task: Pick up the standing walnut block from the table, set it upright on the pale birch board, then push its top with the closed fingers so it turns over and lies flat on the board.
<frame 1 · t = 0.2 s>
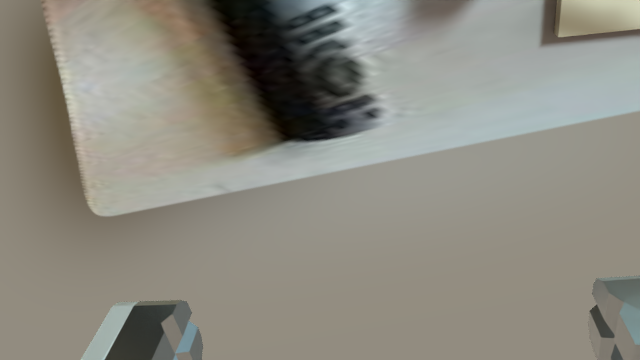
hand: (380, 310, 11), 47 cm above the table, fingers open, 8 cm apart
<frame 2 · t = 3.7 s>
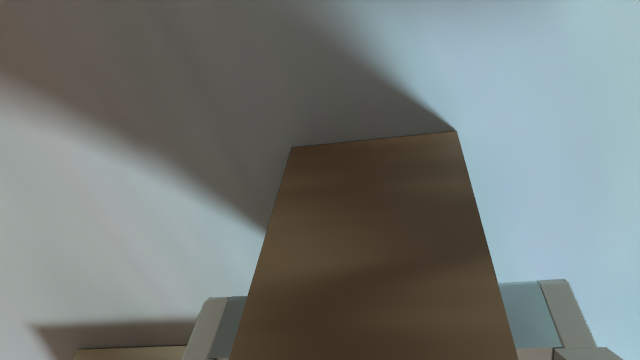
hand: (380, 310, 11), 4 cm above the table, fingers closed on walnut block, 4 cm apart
walnut block: (380, 206, 14), on the table, touching gripper
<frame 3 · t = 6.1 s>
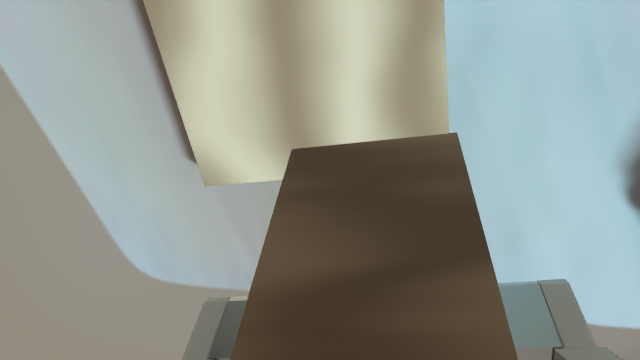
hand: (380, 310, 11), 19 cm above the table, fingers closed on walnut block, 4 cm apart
walnut block: (380, 208, 14), point 15 cm above the table, touching gripper
board: (303, 46, 27), on the table
when the fingers open (6 cm above the table, at t = 8.6 s): walnut block stays where it is, resting on board.
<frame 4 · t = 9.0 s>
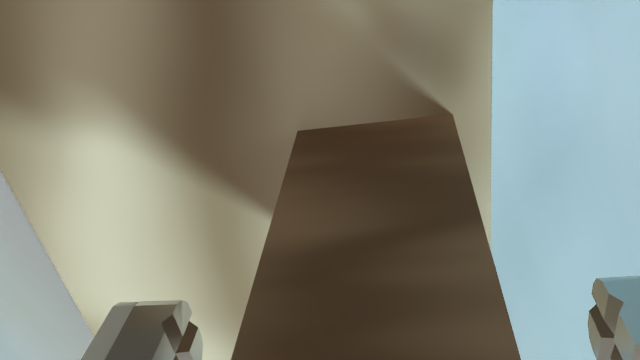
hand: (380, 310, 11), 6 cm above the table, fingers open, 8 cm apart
walnut block: (381, 187, 14), point 1 cm above the table, touching board
board: (251, 173, 16), on the table
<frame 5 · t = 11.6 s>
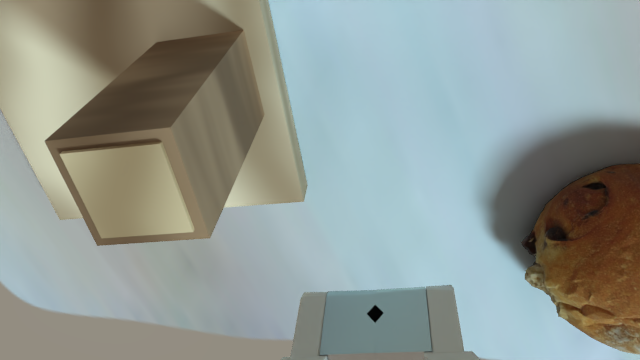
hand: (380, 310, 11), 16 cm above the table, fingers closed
bread roll: (617, 231, 28), on the table
walnut block: (212, 79, 24), point 1 cm above the table, touching board
board: (142, 77, 26), on the table
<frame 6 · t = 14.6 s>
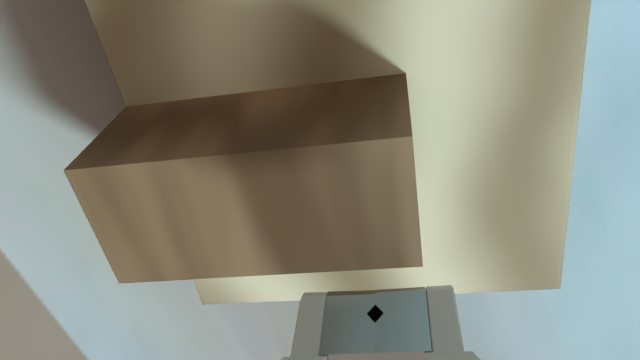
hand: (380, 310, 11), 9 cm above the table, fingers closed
walnut block: (414, 165, 15), point 3 cm above the table, tilted 90°, touching board
board: (349, 119, 18), on the table
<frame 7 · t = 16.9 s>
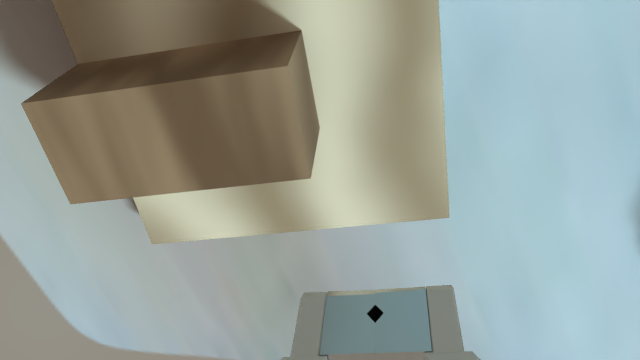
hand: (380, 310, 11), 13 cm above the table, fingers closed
walnut block: (306, 101, 18), point 3 cm above the table, tilted 90°, touching board
board: (266, 75, 22), on the table
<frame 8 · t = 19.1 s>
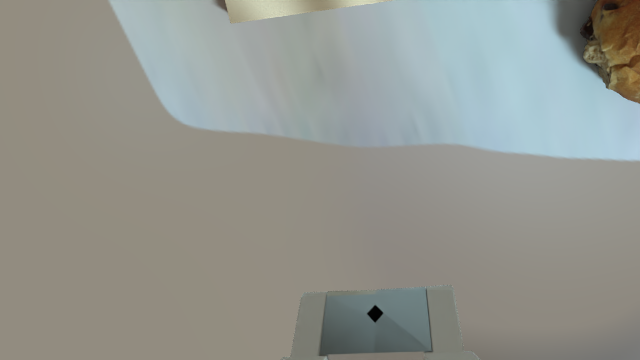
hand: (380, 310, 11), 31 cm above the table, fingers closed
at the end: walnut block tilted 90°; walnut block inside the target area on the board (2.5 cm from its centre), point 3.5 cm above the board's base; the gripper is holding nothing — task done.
